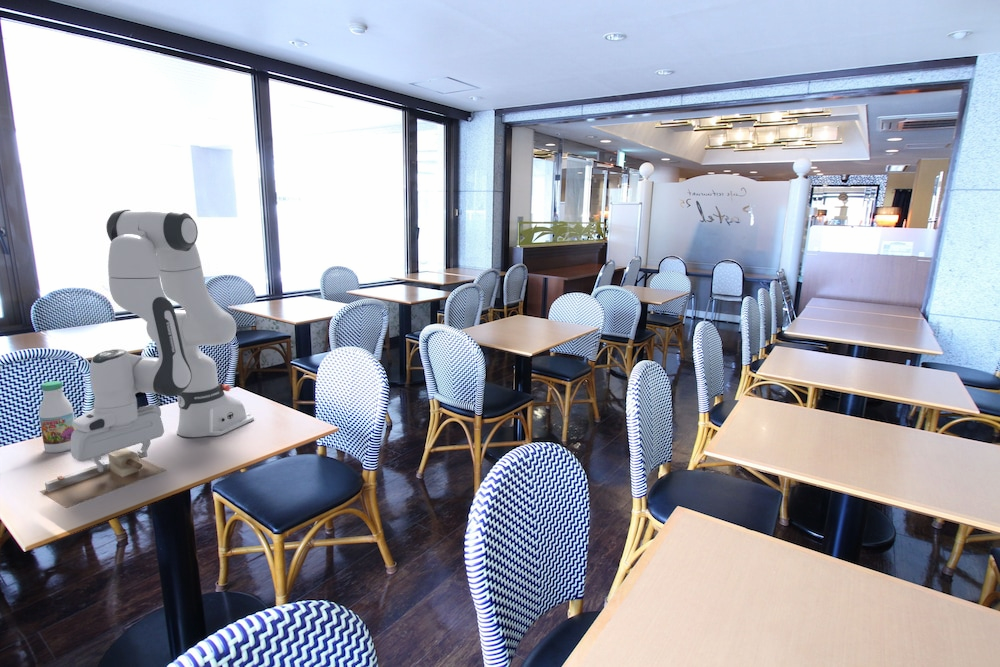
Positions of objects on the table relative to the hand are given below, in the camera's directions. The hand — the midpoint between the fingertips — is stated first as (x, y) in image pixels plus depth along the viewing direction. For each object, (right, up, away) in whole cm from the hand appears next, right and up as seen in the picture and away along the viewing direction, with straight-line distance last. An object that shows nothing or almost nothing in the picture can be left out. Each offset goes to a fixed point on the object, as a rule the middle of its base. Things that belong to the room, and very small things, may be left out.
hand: (123, 463), depth 137 cm
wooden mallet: (+2, -2, 0) cm, 3 cm away
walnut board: (-2, -5, -4) cm, 6 cm away
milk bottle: (-30, 0, +17) cm, 34 cm away
